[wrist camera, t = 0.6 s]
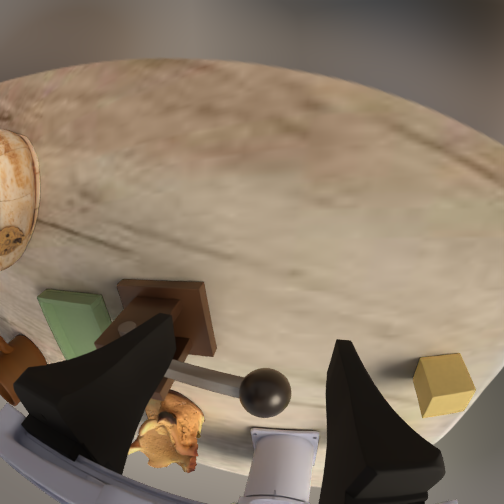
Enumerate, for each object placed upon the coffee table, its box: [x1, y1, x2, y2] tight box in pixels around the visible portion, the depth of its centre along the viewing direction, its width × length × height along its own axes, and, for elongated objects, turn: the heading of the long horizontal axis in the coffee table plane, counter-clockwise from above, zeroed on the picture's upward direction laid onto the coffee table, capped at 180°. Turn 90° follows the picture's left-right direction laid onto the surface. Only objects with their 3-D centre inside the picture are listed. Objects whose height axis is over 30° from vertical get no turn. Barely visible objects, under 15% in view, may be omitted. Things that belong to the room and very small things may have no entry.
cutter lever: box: [164, 359, 291, 418], centre depth 19 cm, size 13×3×3 cm, turn 95°
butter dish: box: [37, 289, 111, 360], centre depth 29 cm, size 11×9×2 cm
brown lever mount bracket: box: [94, 279, 217, 401], centre depth 22 cm, size 8×7×8 cm
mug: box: [0, 335, 47, 406], centre depth 31 cm, size 12×8×9 cm, turn 177°
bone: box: [128, 390, 205, 473], centre depth 29 cm, size 12×10×8 cm
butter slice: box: [413, 353, 476, 418], centre depth 21 cm, size 3×4×5 cm, turn 95°
